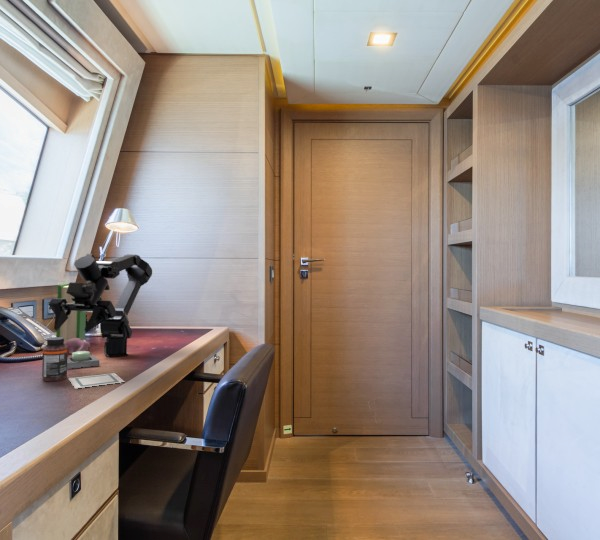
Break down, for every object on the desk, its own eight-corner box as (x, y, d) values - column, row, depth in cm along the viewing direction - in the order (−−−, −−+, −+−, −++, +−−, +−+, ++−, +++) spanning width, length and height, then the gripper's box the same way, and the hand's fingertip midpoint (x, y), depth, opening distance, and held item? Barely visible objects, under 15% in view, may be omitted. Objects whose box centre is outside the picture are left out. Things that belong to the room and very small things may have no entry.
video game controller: (86, 360, 145) (94, 341, 148) (77, 356, 141) (85, 337, 144) (65, 357, 148) (73, 338, 151) (55, 353, 144) (63, 334, 147)
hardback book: (78, 350, 153) (80, 285, 153) (55, 351, 150) (58, 285, 150) (84, 342, 169) (86, 283, 169) (64, 343, 167) (66, 283, 167)
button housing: (93, 360, 138) (93, 354, 138) (99, 365, 131) (99, 360, 131) (62, 363, 133) (62, 357, 133) (66, 369, 126) (67, 363, 126)
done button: (88, 357, 136) (88, 350, 136) (91, 360, 132) (91, 353, 132) (70, 359, 133) (70, 351, 133) (73, 362, 129) (73, 354, 129)
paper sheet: (114, 374, 122) (114, 372, 122) (124, 382, 113) (124, 381, 113) (68, 379, 115) (68, 378, 115) (75, 389, 106) (75, 387, 106)
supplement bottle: (48, 376, 117) (50, 336, 118) (70, 376, 118) (72, 336, 118) (37, 381, 112) (38, 339, 112) (60, 382, 112) (61, 340, 112)
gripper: (53, 272, 127) (26, 311, 116) (112, 274, 126) (90, 313, 115) (68, 296, 135) (44, 335, 124) (124, 298, 134) (104, 338, 123)
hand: (70, 330), depth 121 cm, fingers open, 9 cm apart
